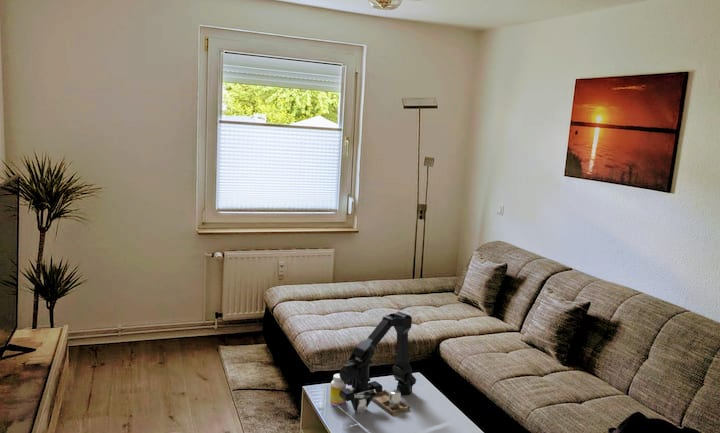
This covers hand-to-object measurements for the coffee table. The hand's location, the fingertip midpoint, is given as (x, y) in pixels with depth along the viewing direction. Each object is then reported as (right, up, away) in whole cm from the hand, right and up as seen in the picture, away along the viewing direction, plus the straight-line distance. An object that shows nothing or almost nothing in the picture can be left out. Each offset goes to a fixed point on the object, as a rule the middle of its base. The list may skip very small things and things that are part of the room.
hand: (360, 409), depth 241 cm
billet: (0, -2, 0) cm, 2 cm away
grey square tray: (-1, +1, +15) cm, 15 cm away
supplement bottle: (-10, 0, +8) cm, 13 cm away
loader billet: (+15, 0, +3) cm, 15 cm away
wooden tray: (+12, -1, +7) cm, 14 cm away
